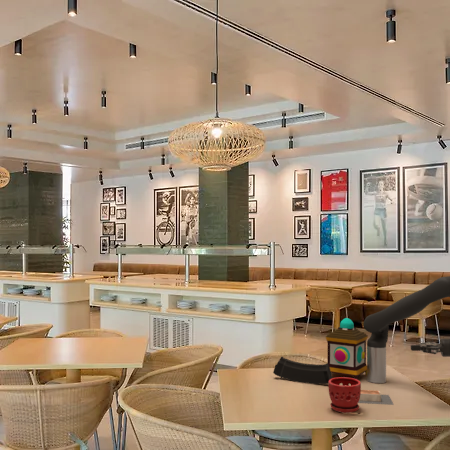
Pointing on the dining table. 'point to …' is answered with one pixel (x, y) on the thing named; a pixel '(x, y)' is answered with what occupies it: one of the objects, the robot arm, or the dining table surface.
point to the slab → (370, 395)
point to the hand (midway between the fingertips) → (410, 347)
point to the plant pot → (344, 394)
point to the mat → (384, 400)
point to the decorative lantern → (347, 350)
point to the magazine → (302, 372)
